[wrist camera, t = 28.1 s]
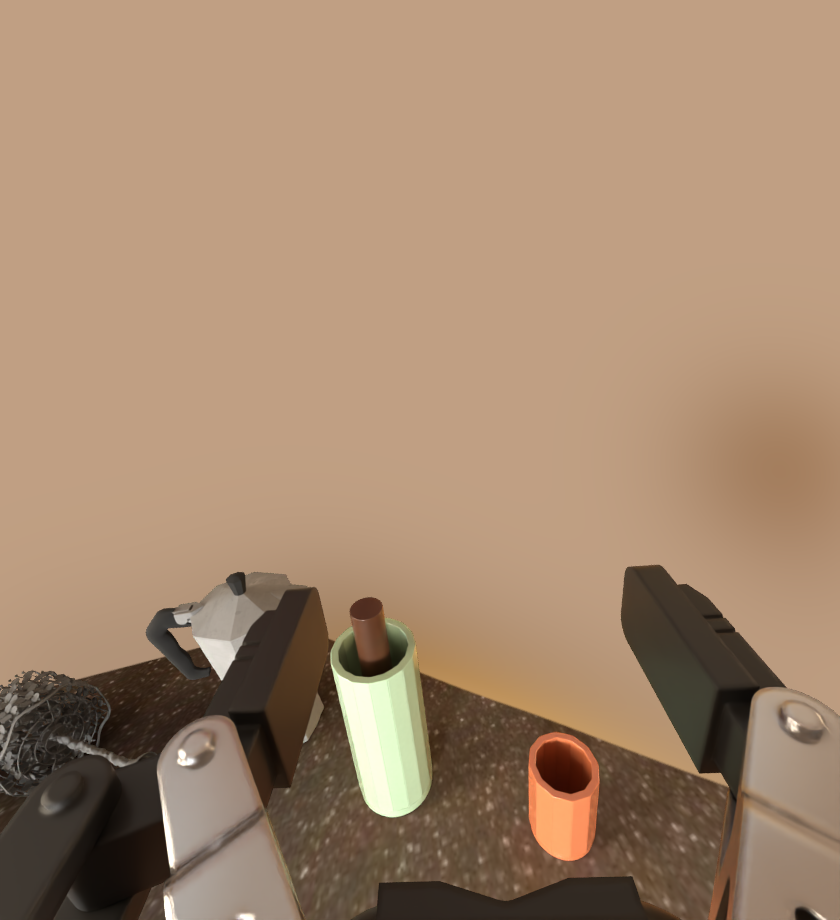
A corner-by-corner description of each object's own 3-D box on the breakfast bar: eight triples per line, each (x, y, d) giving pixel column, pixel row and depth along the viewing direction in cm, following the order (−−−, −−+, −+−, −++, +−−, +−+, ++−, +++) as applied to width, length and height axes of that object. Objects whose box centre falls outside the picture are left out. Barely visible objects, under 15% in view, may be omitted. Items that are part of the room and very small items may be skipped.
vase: (423, 733, 42) (406, 610, 36) (440, 804, 36) (423, 670, 30) (357, 751, 41) (329, 627, 35) (364, 827, 35) (331, 693, 29)
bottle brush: (408, 751, 40) (382, 592, 33) (414, 783, 37) (387, 617, 30) (378, 760, 39) (345, 600, 32) (382, 792, 36) (347, 626, 30)
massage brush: (111, 868, 34) (63, 792, 31) (-50, 787, 41) (-104, 719, 38) (201, 753, 42) (172, 683, 39) (53, 702, 50) (17, 640, 46)
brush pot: (572, 782, 36) (575, 725, 34) (607, 849, 32) (613, 788, 29) (519, 799, 36) (518, 741, 33) (547, 870, 31) (548, 809, 29)
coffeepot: (344, 669, 50) (314, 535, 43) (342, 749, 41) (305, 596, 34) (205, 696, 48) (153, 561, 42) (173, 784, 40) (100, 632, 33)
